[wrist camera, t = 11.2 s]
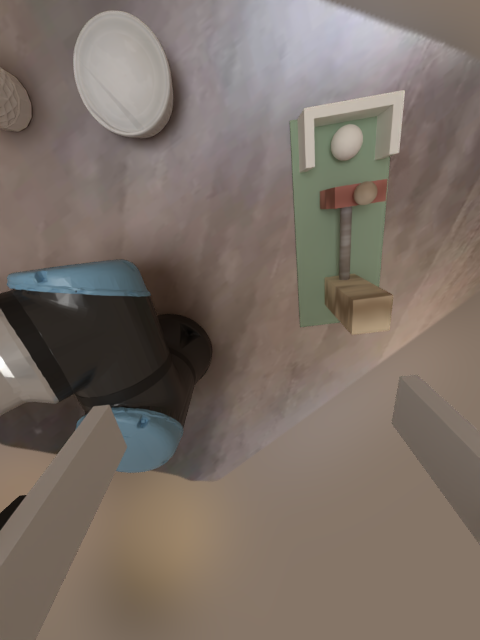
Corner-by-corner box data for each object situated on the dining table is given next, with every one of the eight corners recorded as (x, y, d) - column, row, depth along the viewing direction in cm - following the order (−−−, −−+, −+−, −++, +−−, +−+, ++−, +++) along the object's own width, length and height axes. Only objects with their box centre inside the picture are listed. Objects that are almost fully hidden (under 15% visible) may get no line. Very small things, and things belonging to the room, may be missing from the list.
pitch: (375, 317, 46) (376, 317, 46) (300, 326, 47) (300, 327, 47) (393, 102, 33) (394, 102, 33) (289, 121, 34) (290, 120, 34)
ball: (366, 157, 32) (370, 118, 30) (335, 162, 33) (337, 124, 31) (354, 158, 36) (356, 124, 34) (326, 163, 36) (327, 129, 34)
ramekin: (96, 134, 35) (73, 121, 30) (96, 27, 31) (69, -7, 26) (174, 155, 36) (164, 146, 31) (185, 55, 32) (175, 27, 27)
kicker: (356, 300, 44) (394, 329, 33) (320, 305, 45) (346, 335, 34) (362, 184, 37) (413, 172, 26) (319, 190, 37) (351, 182, 26)
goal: (382, 158, 36) (398, 152, 32) (299, 172, 36) (305, 168, 33) (386, 103, 33) (404, 90, 29) (297, 119, 34) (304, 108, 30)
